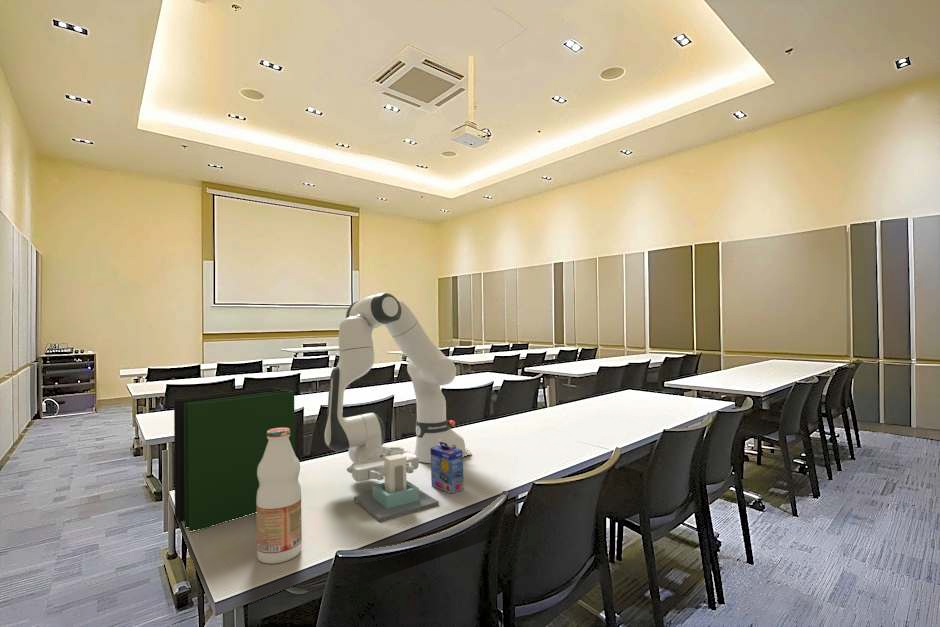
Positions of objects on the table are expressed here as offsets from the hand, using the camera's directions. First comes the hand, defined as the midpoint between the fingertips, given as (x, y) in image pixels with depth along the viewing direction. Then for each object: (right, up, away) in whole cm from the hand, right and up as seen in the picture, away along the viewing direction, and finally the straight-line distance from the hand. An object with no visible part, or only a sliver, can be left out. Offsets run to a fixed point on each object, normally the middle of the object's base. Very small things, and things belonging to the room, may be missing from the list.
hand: (396, 473), depth 132 cm
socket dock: (0, -9, +1) cm, 9 cm away
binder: (-45, -9, -2) cm, 46 cm away
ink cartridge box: (+14, -9, +12) cm, 20 cm away
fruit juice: (-22, -9, -28) cm, 37 cm away
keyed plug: (0, -8, +1) cm, 8 cm away
